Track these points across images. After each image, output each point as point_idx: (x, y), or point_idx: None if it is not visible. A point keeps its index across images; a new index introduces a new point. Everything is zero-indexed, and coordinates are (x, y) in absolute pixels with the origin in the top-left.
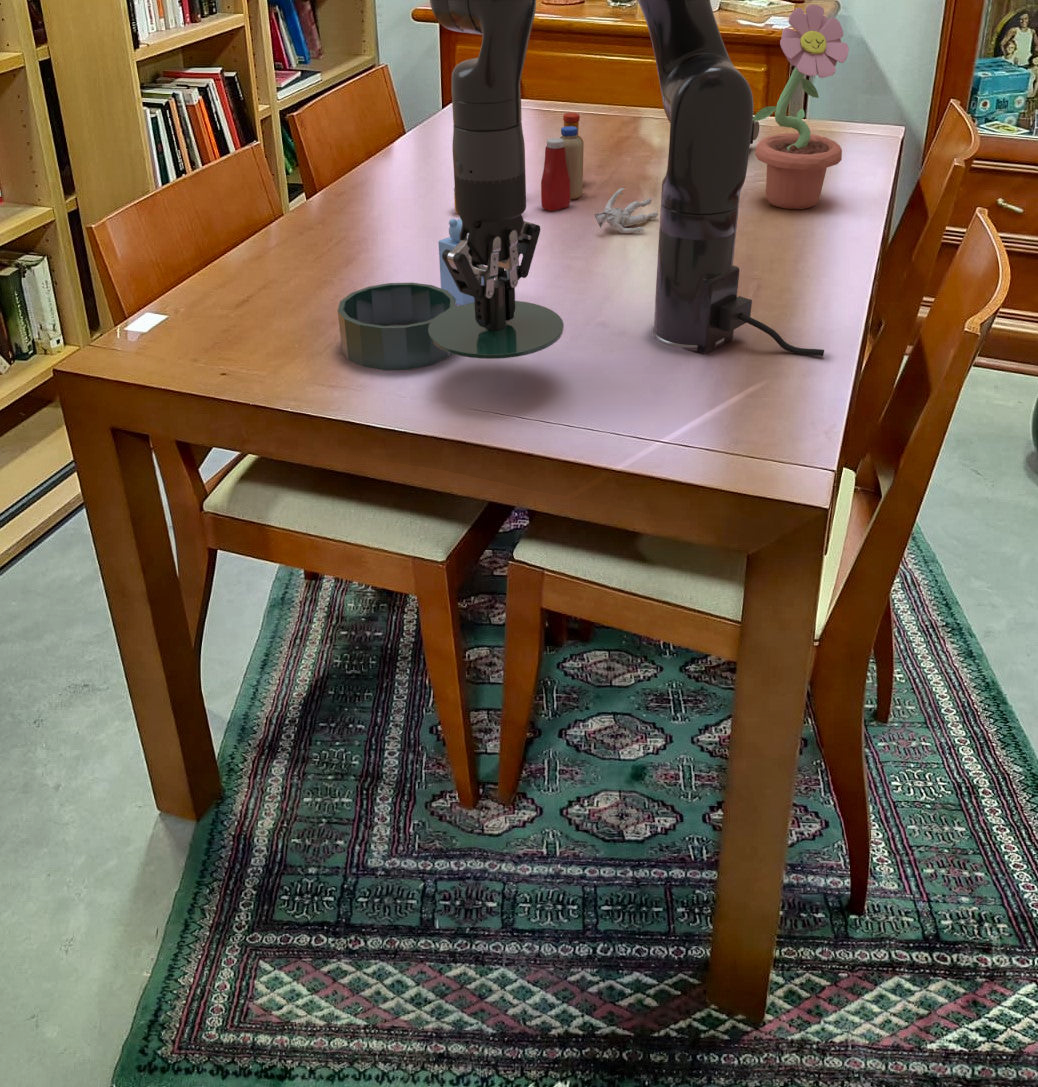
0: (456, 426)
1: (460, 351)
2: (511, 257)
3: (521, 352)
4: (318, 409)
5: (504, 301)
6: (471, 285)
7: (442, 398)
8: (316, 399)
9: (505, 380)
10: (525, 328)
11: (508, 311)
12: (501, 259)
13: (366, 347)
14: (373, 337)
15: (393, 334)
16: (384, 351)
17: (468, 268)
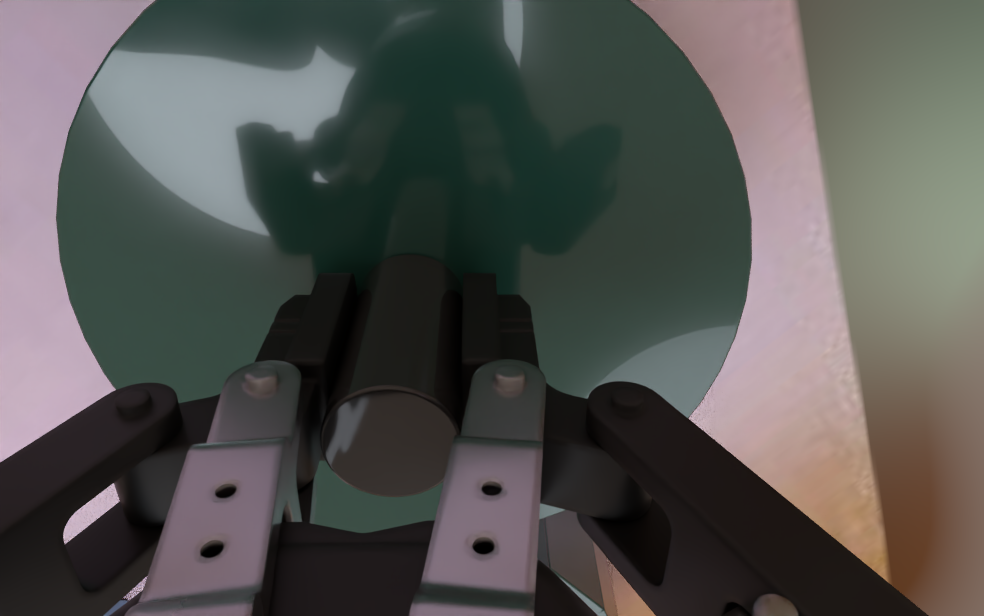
0: (736, 101)
1: (749, 231)
2: (261, 507)
3: None
4: (852, 467)
5: (379, 327)
6: (711, 449)
7: None
8: (805, 506)
9: None
10: (329, 168)
11: (346, 299)
12: (344, 539)
13: (609, 584)
14: (608, 597)
15: (576, 570)
16: (590, 540)
17: (786, 561)
